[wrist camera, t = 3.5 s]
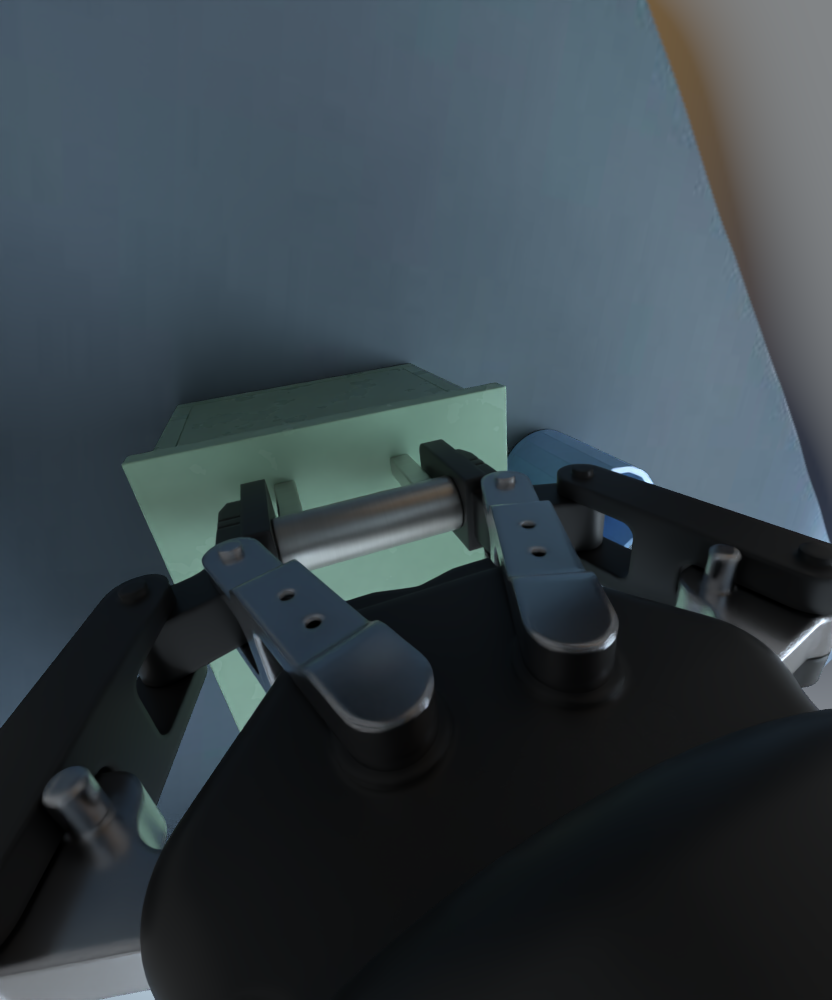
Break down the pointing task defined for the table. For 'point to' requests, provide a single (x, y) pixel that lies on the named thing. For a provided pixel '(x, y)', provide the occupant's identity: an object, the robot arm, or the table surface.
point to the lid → (327, 499)
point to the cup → (556, 450)
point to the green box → (298, 403)
